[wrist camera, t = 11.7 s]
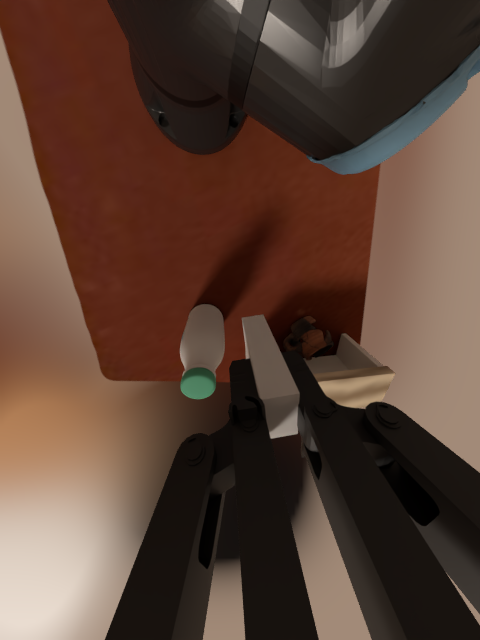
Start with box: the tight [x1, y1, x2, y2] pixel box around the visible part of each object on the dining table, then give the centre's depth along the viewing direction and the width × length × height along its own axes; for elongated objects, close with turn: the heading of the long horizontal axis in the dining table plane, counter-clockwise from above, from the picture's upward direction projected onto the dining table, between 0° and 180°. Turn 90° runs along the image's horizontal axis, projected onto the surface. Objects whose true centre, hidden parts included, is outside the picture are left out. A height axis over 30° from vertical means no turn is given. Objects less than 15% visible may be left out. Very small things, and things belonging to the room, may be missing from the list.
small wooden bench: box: [246, 333, 395, 408], centre depth 42 cm, size 9×26×15 cm, turn 92°
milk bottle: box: [180, 304, 225, 399], centre depth 33 cm, size 8×8×20 cm
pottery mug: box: [283, 316, 334, 360], centre depth 45 cm, size 12×10×8 cm
